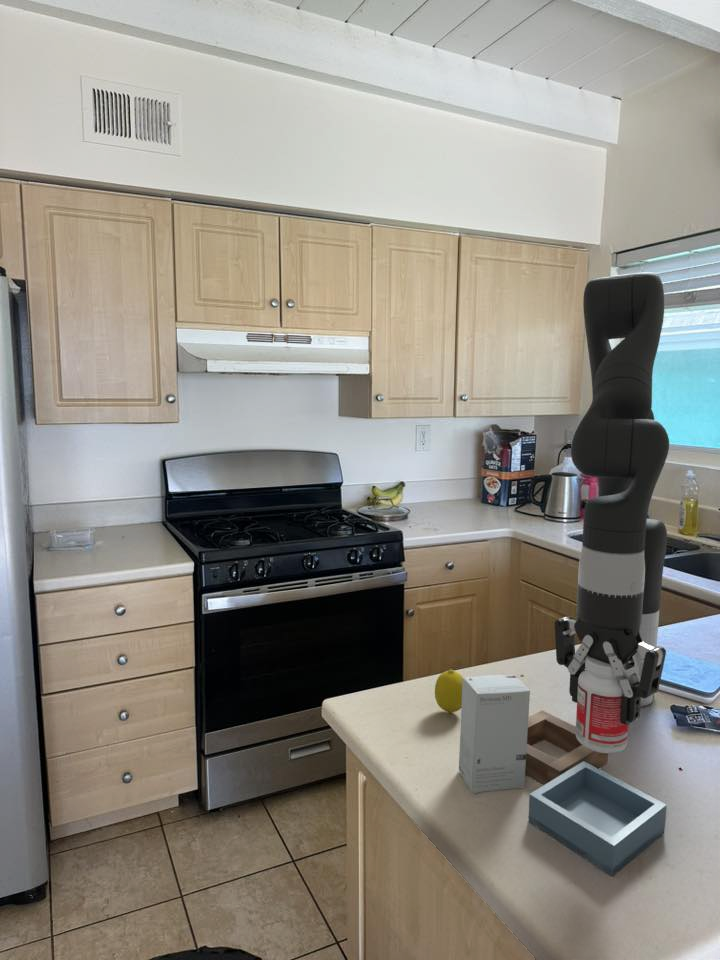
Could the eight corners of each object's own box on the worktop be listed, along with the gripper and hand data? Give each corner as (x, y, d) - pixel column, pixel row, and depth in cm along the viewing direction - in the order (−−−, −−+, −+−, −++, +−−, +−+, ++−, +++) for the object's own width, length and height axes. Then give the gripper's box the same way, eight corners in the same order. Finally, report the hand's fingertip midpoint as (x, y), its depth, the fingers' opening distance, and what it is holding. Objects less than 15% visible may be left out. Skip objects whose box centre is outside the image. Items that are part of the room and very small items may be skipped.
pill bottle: (637, 745, 82) (643, 662, 80) (606, 761, 78) (612, 674, 76) (595, 723, 87) (600, 645, 85) (564, 737, 83) (569, 655, 82)
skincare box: (471, 795, 91) (474, 695, 89) (457, 769, 97) (459, 675, 94) (527, 788, 92) (532, 689, 90) (510, 763, 98) (513, 670, 96)
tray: (581, 787, 93) (583, 761, 92) (664, 833, 83) (666, 804, 83) (528, 821, 85) (529, 794, 85) (612, 876, 76) (614, 845, 75)
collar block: (541, 730, 108) (542, 710, 107) (607, 763, 98) (608, 742, 98) (492, 755, 100) (493, 734, 100) (558, 794, 91) (560, 771, 90)
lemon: (430, 718, 111) (431, 673, 110) (439, 703, 116) (439, 660, 115) (462, 724, 109) (463, 679, 108) (469, 709, 114) (470, 666, 113)
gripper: (684, 592, 76) (673, 725, 79) (577, 564, 87) (570, 681, 90) (651, 605, 71) (640, 746, 74) (542, 574, 83) (536, 698, 85)
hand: (602, 710), depth 82 cm, fingers closed on pill bottle, 6 cm apart
